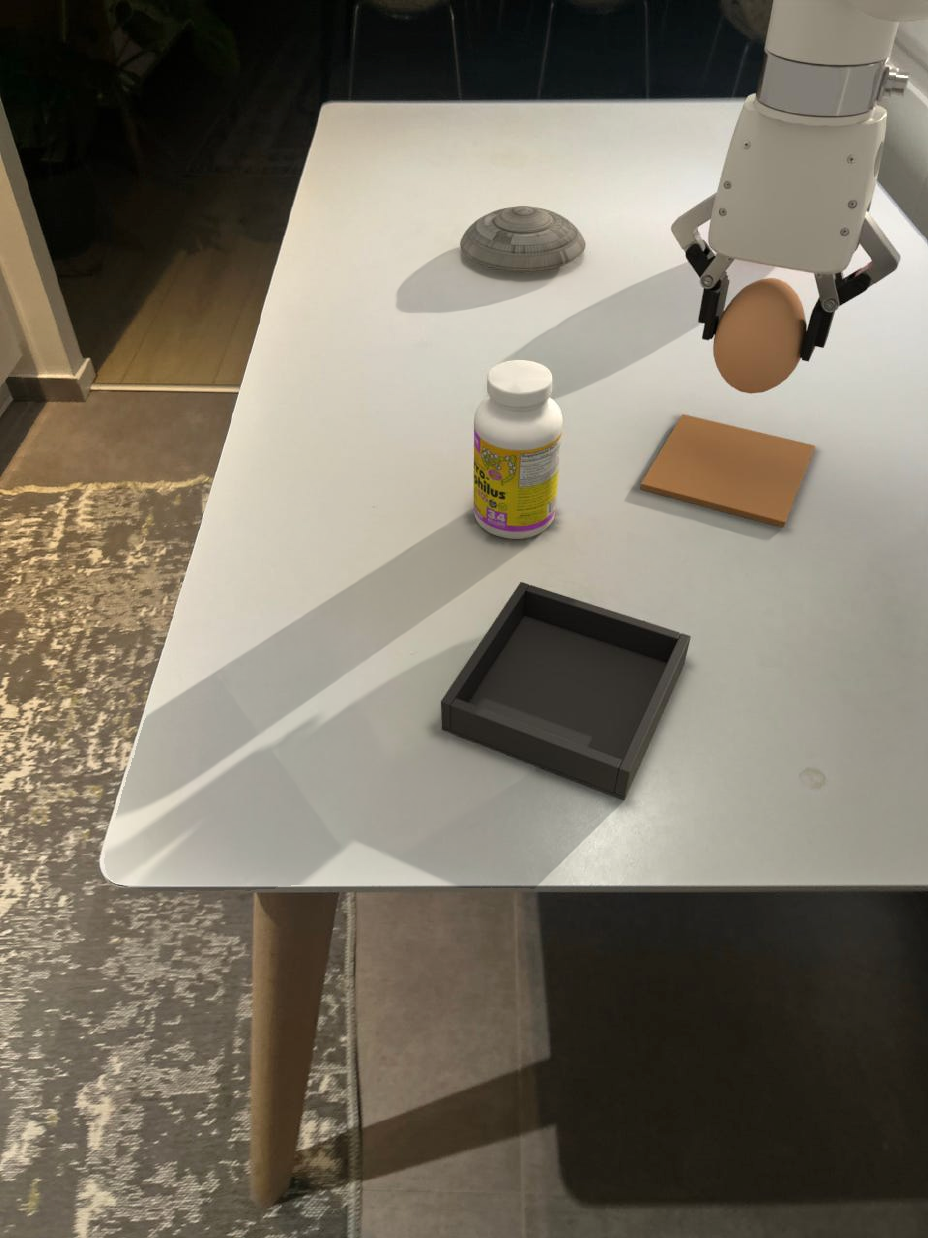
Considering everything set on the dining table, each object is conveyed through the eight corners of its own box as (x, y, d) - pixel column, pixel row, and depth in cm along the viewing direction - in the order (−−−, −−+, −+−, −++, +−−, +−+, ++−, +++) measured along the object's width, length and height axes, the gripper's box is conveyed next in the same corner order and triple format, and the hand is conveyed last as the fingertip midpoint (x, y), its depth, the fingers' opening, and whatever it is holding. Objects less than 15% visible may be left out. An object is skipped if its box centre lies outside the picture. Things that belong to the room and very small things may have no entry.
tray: (684, 664, 63) (691, 635, 61) (624, 800, 55) (629, 772, 53) (519, 609, 67) (520, 581, 65) (441, 729, 59) (440, 701, 57)
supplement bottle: (460, 504, 76) (458, 364, 67) (530, 484, 78) (538, 344, 69) (496, 552, 72) (498, 408, 63) (570, 529, 74) (583, 386, 65)
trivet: (813, 451, 81) (815, 445, 81) (783, 528, 74) (785, 522, 73) (681, 419, 85) (682, 413, 85) (639, 489, 77) (640, 483, 77)
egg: (687, 382, 75) (706, 274, 68) (748, 359, 77) (772, 253, 71) (747, 420, 71) (773, 309, 64) (809, 395, 73) (841, 286, 67)
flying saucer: (511, 293, 104) (513, 245, 100) (435, 250, 113) (434, 204, 109) (610, 259, 110) (615, 212, 106) (531, 220, 119) (533, 176, 115)
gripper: (970, 84, 58) (883, 344, 71) (701, 54, 64) (664, 300, 76) (958, 117, 53) (867, 390, 66) (668, 82, 59) (635, 340, 71)
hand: (759, 340), depth 71 cm, fingers closed on egg, 6 cm apart
